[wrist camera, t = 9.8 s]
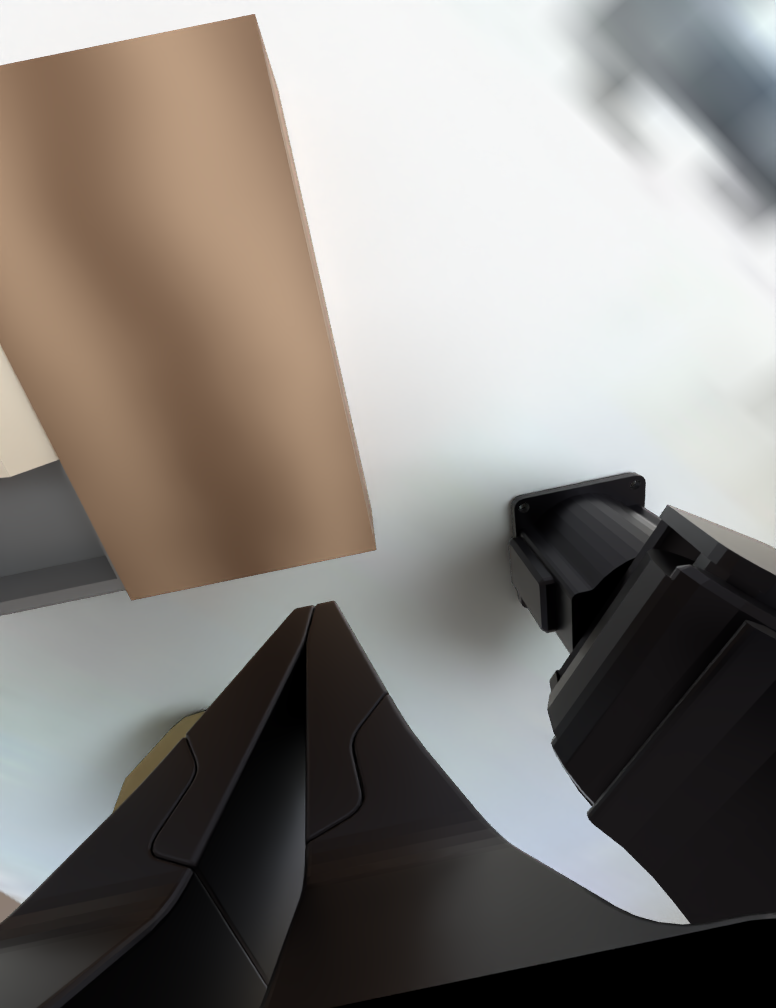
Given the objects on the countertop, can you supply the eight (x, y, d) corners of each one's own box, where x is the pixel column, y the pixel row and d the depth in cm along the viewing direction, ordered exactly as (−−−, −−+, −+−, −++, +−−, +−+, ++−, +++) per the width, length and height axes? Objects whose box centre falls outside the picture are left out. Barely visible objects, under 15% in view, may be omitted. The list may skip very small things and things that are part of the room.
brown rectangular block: (277, 89, 15) (254, 13, 11) (371, 509, 21) (376, 549, 18) (-12, 147, 15) (-129, 91, 11) (168, 551, 21) (131, 600, 18)
